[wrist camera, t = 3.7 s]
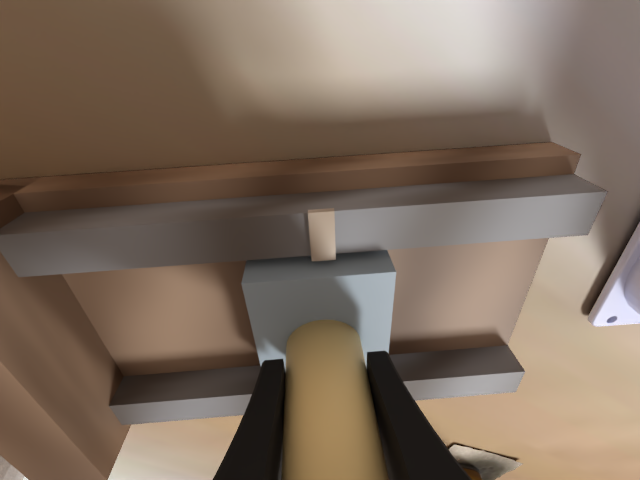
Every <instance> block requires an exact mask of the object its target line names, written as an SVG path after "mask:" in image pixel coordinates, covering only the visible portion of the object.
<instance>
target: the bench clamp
mask: <svg viewBox="0 0 640 480" xmlns="http://www.w3.org/2000/svg"><path fill="white" fill-rule="evenodd" d="M580 156H581V154H579V153H577V152H574V151H572V150H569V149H567V148H565V147H562V146H560V145H558V144H555V143H553V142H546V143H532V144H517V145H502V146H488V147H473V148H458V149H444V150H429V151H414V152H400V153H385V154H370V155H356V156H341V157H326V158H312V159H297V160H282V161H268V162H253V163H238V164H224V165H209V166H194V167H180V168H165V169H150V170H135V171H121V172H106V173H91V174H77V175H62V176H47V177H33V178H18V179H3V180H0V456H2V457H3V458H4V459H5V460H6V461H7V462H9V463H10V464H11V465H12V466H13V467H15V468H16V469H17V470H18V471H19V472H21V473H22V474H23V475H24V476H25V477H26V478H28V479H29V480H108V477H109V475H110V473H111V470H112V468H113V466H114V463H115V461H116V459H117V456H118V454H119V452H120V449H121V447H122V445H123V442H124V440H125V438H126V435H127V433H128V431H129V428H130V426H131V424H142V423H154V422H166V421H178V420H190V419H202V418H213V417H225V416H237V415H244V413H245V411H246V408H247V406H248V403H249V401H250V398H251V396H252V393H253V390H254V388H255V385H256V382H257V379H258V376H259V373H260V369H261V366H260V361H259V357H258V353H257V348H256V344H255V340H254V336H253V331H252V327H251V323H250V319H249V314H248V310H247V306H246V301H245V297H244V293H243V289H242V284H241V283H242V278H243V274H244V270H245V265H246V261H247V260H258V259H272V258H285V257H298V256H311V259H312V261H325V260H336V254H339V253H352V252H366V251H379V250H387V251H388V253H389V255H390V258H391V260H392V263H393V265H394V267H395V270H396V280H395V291H394V301H393V312H392V322H391V333H390V344H389V356H390V358H391V360H392V362H393V364H394V366H395V368H396V370H397V372H398V373H399V375H400V377H401V379H402V381H403V382H404V384H405V386H406V387H407V389H408V391H409V392H410V394H411V396H412V397H413V399H414V400H427V399H439V398H451V397H463V396H475V395H487V394H498V393H510V392H516V390H517V388H518V386H519V384H520V382H521V379H522V377H523V375H524V373H525V371H524V369H523V368H522V366H521V365H520V363H519V362H518V360H517V359H516V357H515V356H514V354H513V353H512V351H511V350H510V348H509V347H508V343H509V340H510V337H511V335H512V332H513V330H514V327H515V325H516V322H517V319H518V317H519V314H520V312H521V309H522V306H523V304H524V301H525V299H526V296H527V293H528V291H529V288H530V286H531V283H532V281H533V278H534V275H535V273H536V270H537V268H538V265H539V262H540V260H541V257H542V255H543V252H544V249H545V247H546V244H547V242H548V239H549V238H554V237H567V236H581V235H588V234H589V231H590V229H591V227H592V225H593V223H594V221H595V218H596V216H597V214H598V212H599V210H600V207H601V205H602V203H603V201H604V199H605V197H606V194H607V192H608V191H606V190H604V189H602V188H600V187H598V186H596V185H594V184H592V183H590V182H588V181H586V180H584V179H582V178H580V177H578V176H576V175H575V174H574V172H575V169H576V167H577V164H578V161H579V159H580Z"/></svg>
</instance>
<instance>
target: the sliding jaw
mask: <svg viewBox="0 0 640 480" xmlns="http://www.w3.org/2000/svg"><path fill="white" fill-rule="evenodd" d="M395 280H396V270H395V267H394V265H393V263H392V260H391V258H390V255H389V253H388V251H387V250H379V251H366V252H352V253H339V254H336V260H325V261H312V259H311V256H298V257H285V258H272V259H258V260H247V261H246V265H245V270H244V274H243V278H242V283H241V284H242V289H243V293H244V297H245V301H246V306H247V310H248V314H249V319H250V323H251V327H252V331H253V336H254V340H255V344H256V348H257V353H258V357H259V361H260V366H261V365H262V362H264V361H265V360H274V359H283V361H284V367H285V400H284V422H283V449H282V475H281V480H389V477H388V472H387V467H386V462H385V457H384V452H383V448H382V443H381V438H380V433H379V428H378V423H377V418H376V413H375V408H374V403H373V399H372V394H371V389H370V384H369V379H368V374H367V369H366V367H367V352H374V351H386V352H388V354H389V344H390V333H391V322H392V312H393V301H394V291H395Z"/></svg>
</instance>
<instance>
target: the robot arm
mask: <svg viewBox="0 0 640 480" xmlns="http://www.w3.org/2000/svg"><path fill="white" fill-rule="evenodd" d="M588 321H589V322H590V323H591V324H592V325H594V326H611V325H624V324H636V323H640V222H639V224H638V226H637V228H636V229H635V231H634V233H633V235H632V237H631V239H630V240H629V242H628V244H627V246H626V248H625V250H624V251H623V253H622V255H621V257H620V259H619V261H618V262H617V264H616V266H615V268H614V270H613V272H612V273H611V275H610V277H609V279H608V281H607V283H606V284H605V286H604V288H603V290H602V292H601V294H600V295H599V297H598V299H597V301H596V303H595V305H594V306H593V308H592V310H591V312H590V314H589V316H588ZM366 369H367V374H368V379H369V384H370V389H371V394H372V399H373V403H374V408H375V413H376V418H377V423H378V428H379V433H380V438H381V443H382V448H383V452H384V457H385V462H386V467H387V472H388V477H389V480H472V479H471V478H470V476H469V475H468V474H467V473H466V471H465V470H464V469H463V468H462V466H461V465H460V464H459V463H458V461H457V460H456V459H455V458H454V456H453V455H452V454H451V452H450V451H449V450H448V448H447V447H446V446H445V444H444V443H443V441H442V440H441V439H440V437H439V436H438V435H437V433H436V432H435V430H434V429H433V428H432V426H431V425H430V423H429V422H428V420H427V419H426V417H425V416H424V414H423V413H422V411H421V410H420V408H419V407H418V405H417V403H416V402H415V400H414V399H413V397H412V396H411V394H410V392H409V391H408V389H407V387H406V386H405V384H404V382H403V381H402V379H401V377H400V375H399V373H398V372H397V370H396V368H395V366H394V364H393V362H392V360H391V358H390V356H389V354H388V352H386V351H374V352H367V367H366ZM284 400H285V367H284V361H283V359H274V360H265V361H264V362H262V365H261V369H260V373H259V376H258V379H257V382H256V385H255V388H254V390H253V393H252V396H251V398H250V401H249V403H248V406H247V408H246V411H245V413H244V415H243V418H242V420H241V423H240V425H239V427H238V429H237V432H236V434H235V436H234V438H233V440H232V442H231V444H230V446H229V449H228V451H227V453H226V455H225V457H224V459H223V461H222V463H221V465H220V467H219V469H218V471H217V473H216V475H215V476H214V478H213V480H281V475H282V449H283V422H284Z"/></svg>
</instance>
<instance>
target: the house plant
mask: <svg viewBox="0 0 640 480" xmlns="http://www.w3.org/2000/svg"><path fill="white" fill-rule="evenodd" d="M23 477H24V475H23V474H22V473H21V472H19V471H18V470H17V469H16V468H15V467H13V466H12V465H11V464H10V463H9V462H7V461H6V460H5V459H4V458H3V457H2V456H0V480H23Z"/></svg>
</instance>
